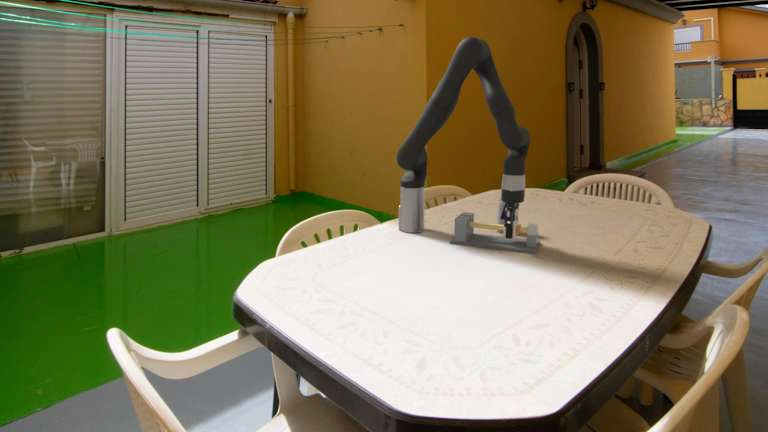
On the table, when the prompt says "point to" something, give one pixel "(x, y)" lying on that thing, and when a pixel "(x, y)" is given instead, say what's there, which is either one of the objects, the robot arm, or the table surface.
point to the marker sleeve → (513, 229)
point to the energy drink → (501, 213)
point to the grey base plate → (498, 243)
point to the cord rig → (467, 225)
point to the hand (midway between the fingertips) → (510, 235)
